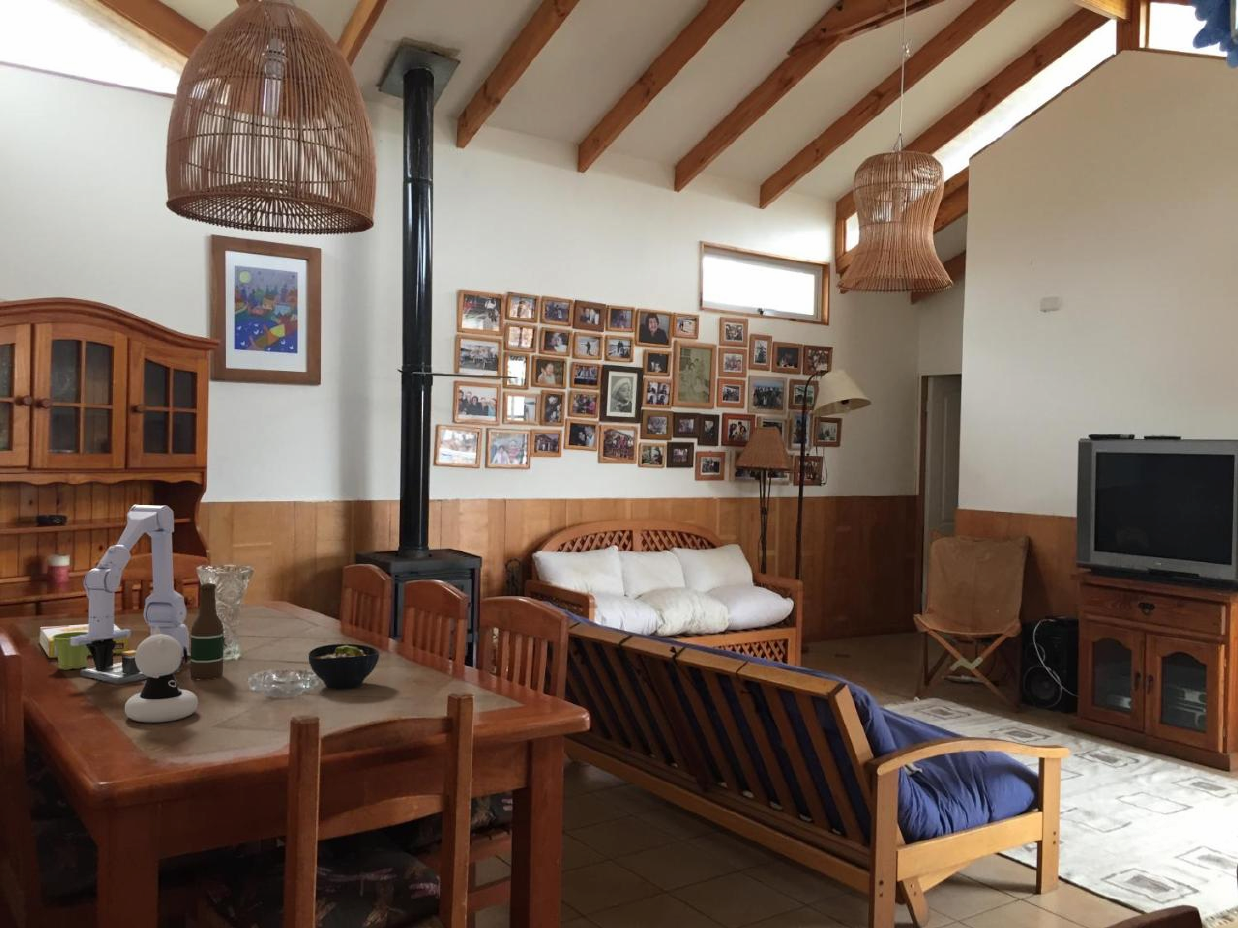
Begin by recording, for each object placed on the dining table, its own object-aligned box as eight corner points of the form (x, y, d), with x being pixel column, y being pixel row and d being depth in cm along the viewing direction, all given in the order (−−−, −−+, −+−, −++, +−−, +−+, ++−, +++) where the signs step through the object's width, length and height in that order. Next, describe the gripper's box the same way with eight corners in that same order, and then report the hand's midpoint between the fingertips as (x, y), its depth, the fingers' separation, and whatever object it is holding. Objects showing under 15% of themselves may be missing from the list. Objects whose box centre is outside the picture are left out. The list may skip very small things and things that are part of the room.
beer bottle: (229, 675, 258) (231, 582, 257) (208, 681, 250) (209, 586, 250) (205, 672, 260) (206, 581, 260) (183, 678, 253) (184, 584, 253)
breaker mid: (132, 665, 259) (133, 650, 259) (139, 666, 257) (139, 651, 257) (121, 667, 256) (122, 651, 256) (128, 668, 255) (128, 653, 254)
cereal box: (49, 640, 272) (38, 624, 295) (49, 660, 272) (37, 643, 295) (130, 635, 284) (113, 620, 307) (130, 654, 284) (113, 638, 307)
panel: (142, 664, 268) (143, 643, 268) (179, 672, 260) (179, 650, 260) (80, 675, 254) (81, 653, 254) (117, 684, 245) (117, 660, 245)
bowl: (315, 696, 237) (315, 654, 237) (302, 681, 252) (303, 642, 252) (386, 690, 245) (386, 649, 245) (369, 675, 260) (370, 637, 260)
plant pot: (74, 672, 257) (75, 638, 257) (43, 670, 259) (43, 636, 259) (100, 665, 266) (101, 632, 266) (70, 662, 268) (70, 630, 268)
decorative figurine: (203, 719, 215) (205, 627, 215) (129, 728, 207) (130, 633, 207) (191, 704, 227) (192, 617, 227) (120, 712, 220) (121, 622, 219)
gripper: (81, 621, 241) (81, 677, 242) (138, 614, 254) (137, 667, 254) (65, 618, 245) (65, 673, 245) (121, 611, 257) (121, 663, 258)
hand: (100, 670), depth 250 cm, fingers closed
